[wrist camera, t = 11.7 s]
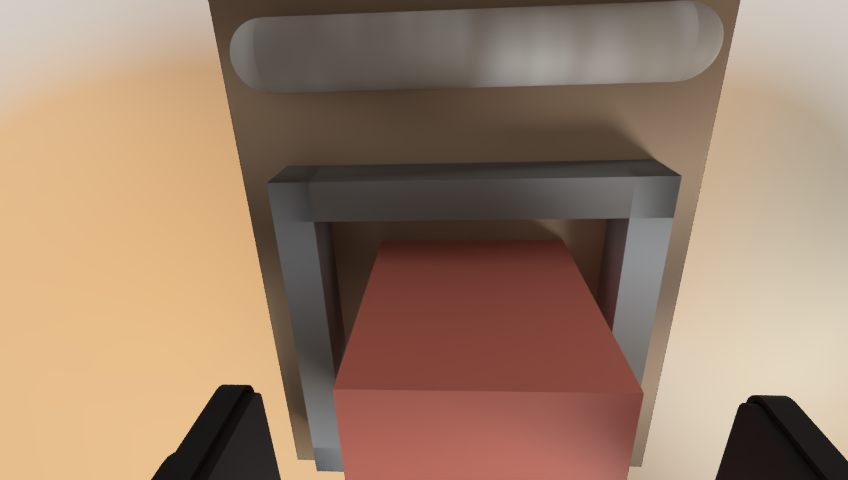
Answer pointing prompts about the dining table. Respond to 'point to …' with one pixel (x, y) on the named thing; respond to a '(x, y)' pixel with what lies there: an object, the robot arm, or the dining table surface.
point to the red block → (483, 369)
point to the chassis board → (467, 156)
